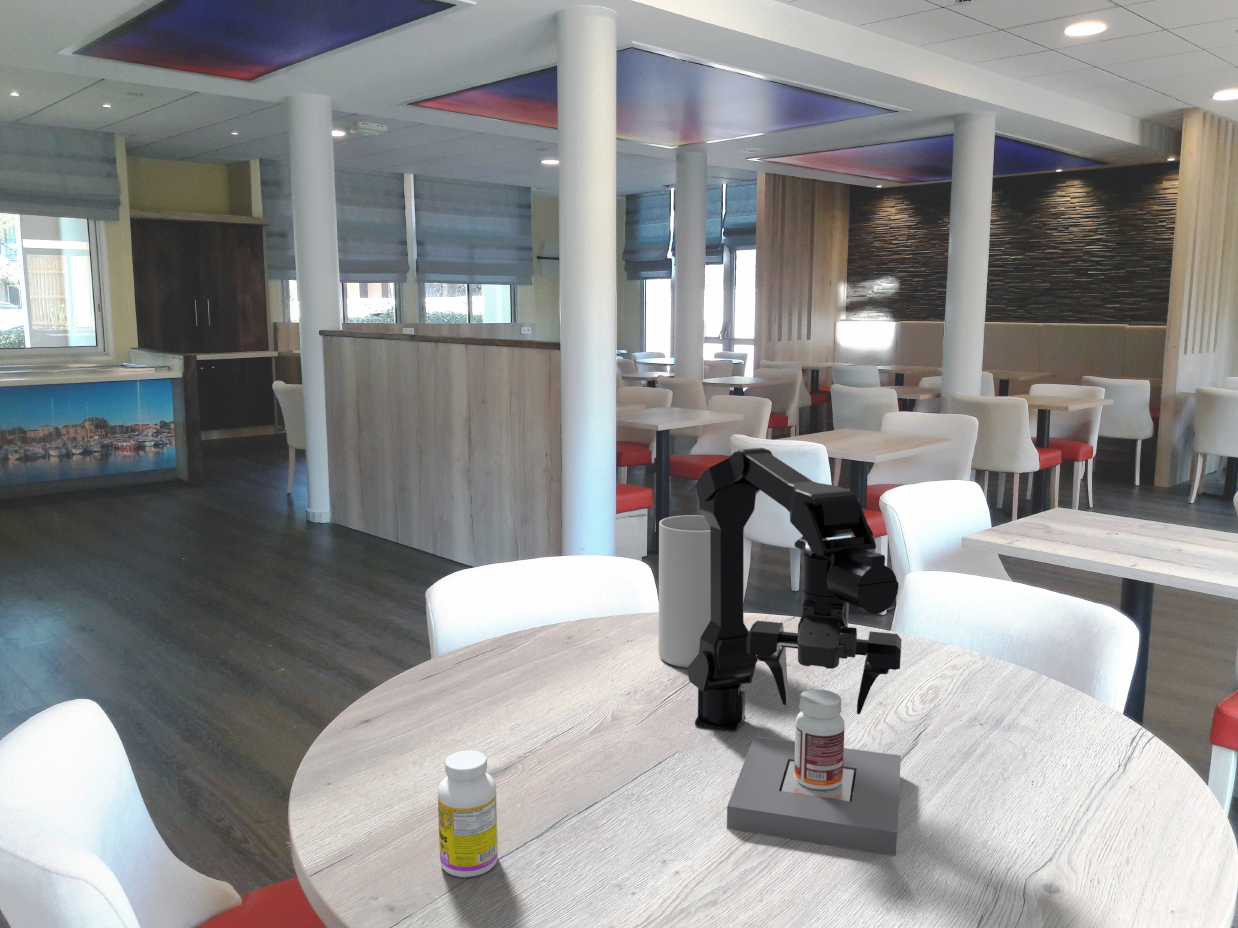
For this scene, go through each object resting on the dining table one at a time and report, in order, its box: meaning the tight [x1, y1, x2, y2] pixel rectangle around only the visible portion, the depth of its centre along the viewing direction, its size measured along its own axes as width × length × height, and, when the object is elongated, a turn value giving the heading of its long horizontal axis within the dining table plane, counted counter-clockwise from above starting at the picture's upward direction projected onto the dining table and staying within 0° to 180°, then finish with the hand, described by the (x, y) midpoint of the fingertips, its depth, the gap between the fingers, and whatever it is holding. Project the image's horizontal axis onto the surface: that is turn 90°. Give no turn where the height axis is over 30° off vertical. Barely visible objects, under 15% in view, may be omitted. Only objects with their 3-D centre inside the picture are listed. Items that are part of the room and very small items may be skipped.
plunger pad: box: [782, 761, 854, 802], centre depth 124 cm, size 8×8×3 cm
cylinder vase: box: [657, 514, 711, 669], centre depth 172 cm, size 12×12×25 cm
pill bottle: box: [794, 688, 846, 790], centre depth 123 cm, size 6×6×11 cm
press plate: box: [726, 735, 902, 857], centre depth 124 cm, size 20×20×3 cm
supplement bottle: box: [437, 750, 499, 878], centre depth 110 cm, size 7×7×13 cm
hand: (821, 708), depth 122 cm, fingers open, 9 cm apart
